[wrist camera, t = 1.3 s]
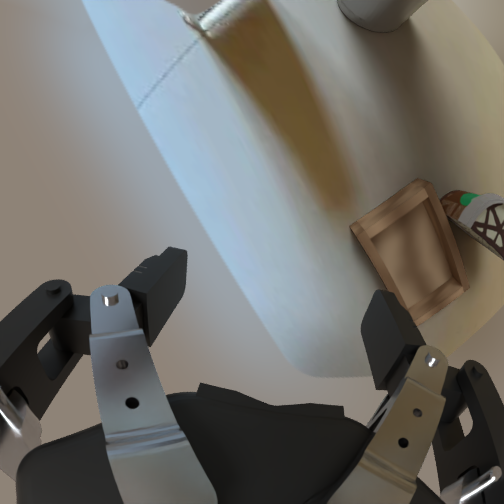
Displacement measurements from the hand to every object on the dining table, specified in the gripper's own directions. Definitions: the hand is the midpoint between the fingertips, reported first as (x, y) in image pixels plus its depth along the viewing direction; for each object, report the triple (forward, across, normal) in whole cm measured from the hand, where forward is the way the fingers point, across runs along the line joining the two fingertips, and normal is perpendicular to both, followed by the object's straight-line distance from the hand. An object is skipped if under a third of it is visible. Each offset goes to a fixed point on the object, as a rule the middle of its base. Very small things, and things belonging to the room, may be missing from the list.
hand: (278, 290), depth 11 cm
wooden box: (+24, -19, +4) cm, 31 cm away
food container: (+24, -26, -4) cm, 35 cm away
